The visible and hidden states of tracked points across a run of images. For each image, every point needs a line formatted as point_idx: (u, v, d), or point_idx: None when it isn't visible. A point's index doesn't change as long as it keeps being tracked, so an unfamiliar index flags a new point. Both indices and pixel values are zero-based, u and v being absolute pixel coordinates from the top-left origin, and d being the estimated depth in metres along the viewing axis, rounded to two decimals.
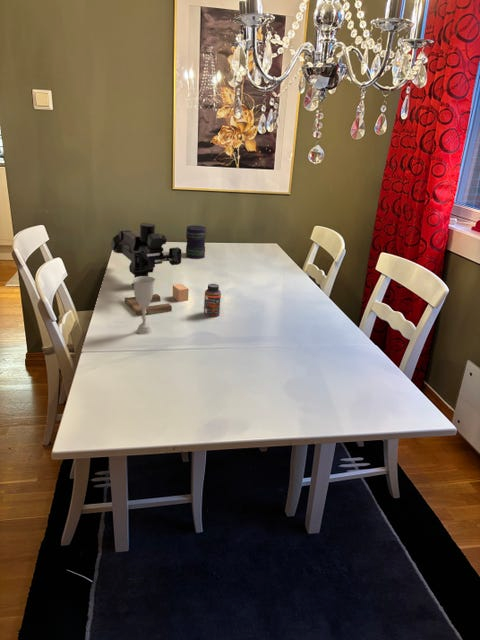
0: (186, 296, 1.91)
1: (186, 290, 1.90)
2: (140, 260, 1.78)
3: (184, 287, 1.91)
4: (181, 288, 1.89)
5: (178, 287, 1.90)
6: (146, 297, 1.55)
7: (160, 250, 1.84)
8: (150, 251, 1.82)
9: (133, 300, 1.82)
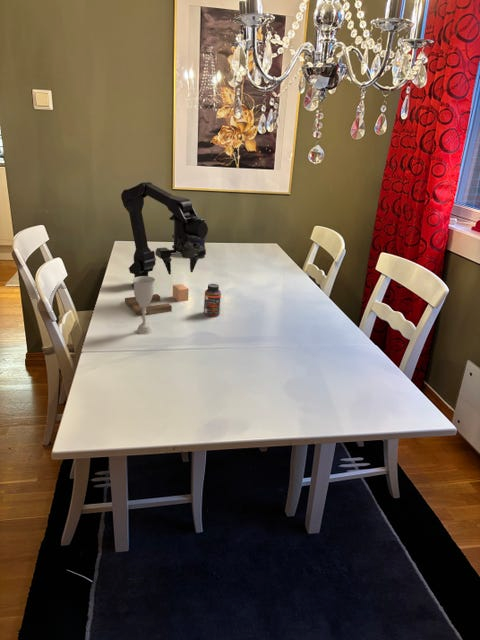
0: (186, 296, 1.91)
1: (186, 290, 1.90)
2: None
3: (184, 287, 1.91)
4: (181, 288, 1.89)
5: (178, 287, 1.90)
6: (146, 297, 1.55)
7: None
8: None
9: (133, 300, 1.82)
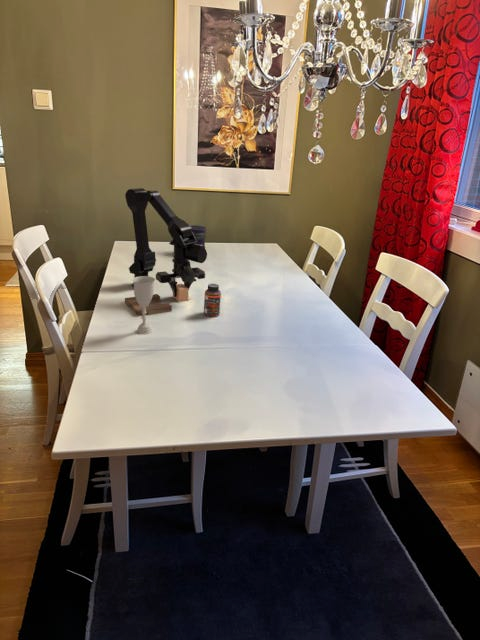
0: (186, 296, 1.91)
1: (186, 290, 1.90)
2: None
3: (184, 287, 1.91)
4: (181, 288, 1.89)
5: (178, 287, 1.90)
6: (146, 297, 1.55)
7: None
8: None
9: (133, 300, 1.82)
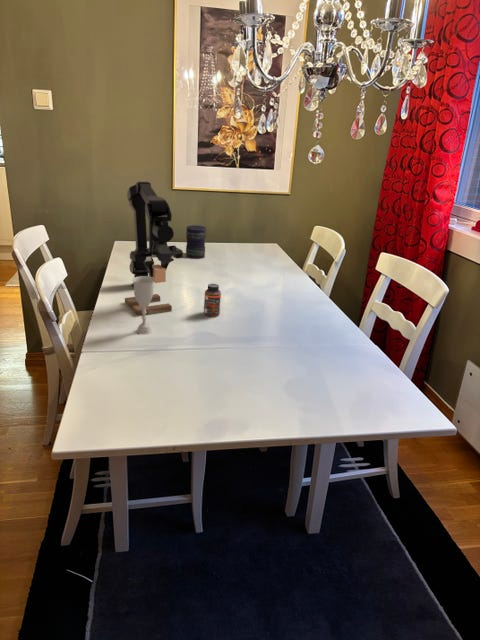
0: (163, 277, 1.78)
1: (163, 270, 1.77)
2: None
3: (161, 267, 1.78)
4: (158, 268, 1.77)
5: (154, 267, 1.78)
6: (146, 297, 1.55)
7: None
8: None
9: (133, 300, 1.82)
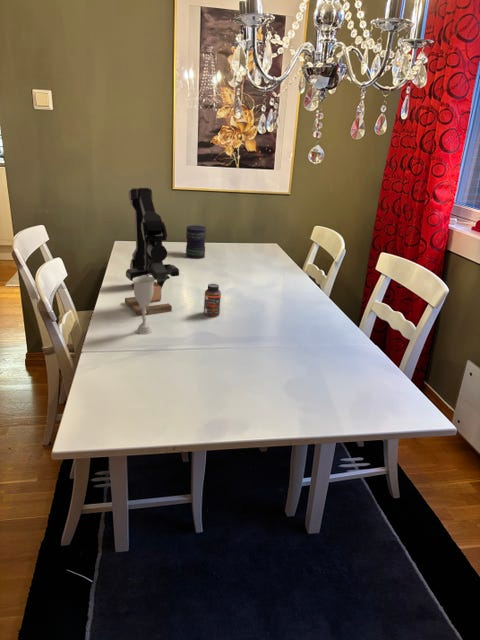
0: (159, 294, 1.80)
1: (159, 288, 1.79)
2: None
3: (157, 285, 1.80)
4: (153, 286, 1.78)
5: None
6: (146, 297, 1.55)
7: None
8: None
9: (133, 300, 1.82)
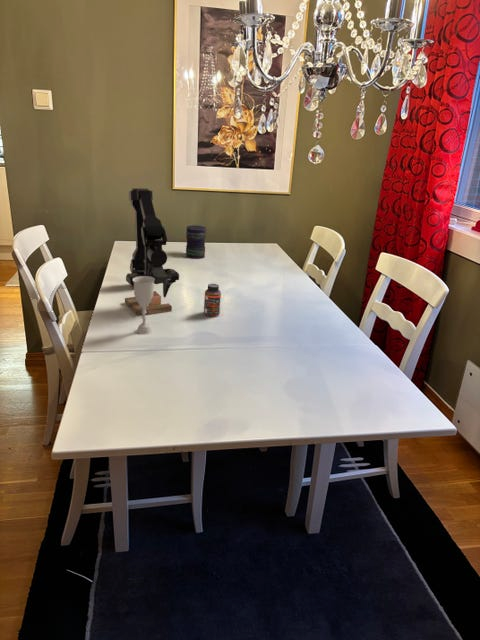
0: (158, 304, 1.81)
1: (158, 298, 1.80)
2: None
3: (156, 294, 1.81)
4: (153, 295, 1.80)
5: None
6: (146, 297, 1.55)
7: None
8: None
9: (133, 300, 1.82)
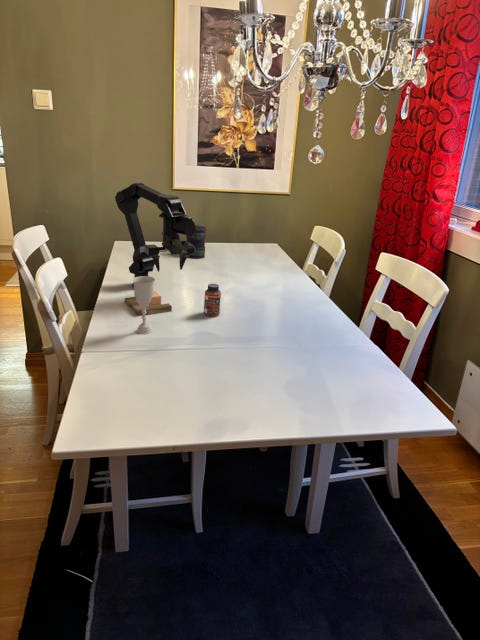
0: (158, 304, 1.81)
1: (158, 298, 1.80)
2: None
3: (156, 294, 1.81)
4: (153, 295, 1.80)
5: None
6: (146, 297, 1.55)
7: None
8: None
9: (133, 300, 1.82)
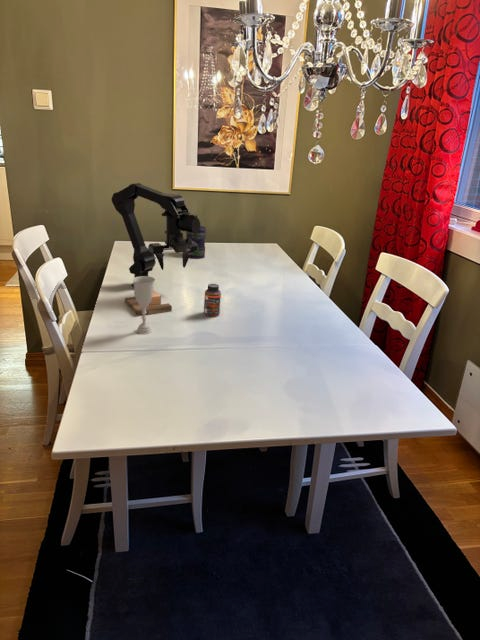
0: (158, 304, 1.81)
1: (158, 298, 1.80)
2: None
3: (156, 294, 1.81)
4: (153, 295, 1.80)
5: None
6: (146, 297, 1.55)
7: None
8: None
9: (133, 300, 1.82)
